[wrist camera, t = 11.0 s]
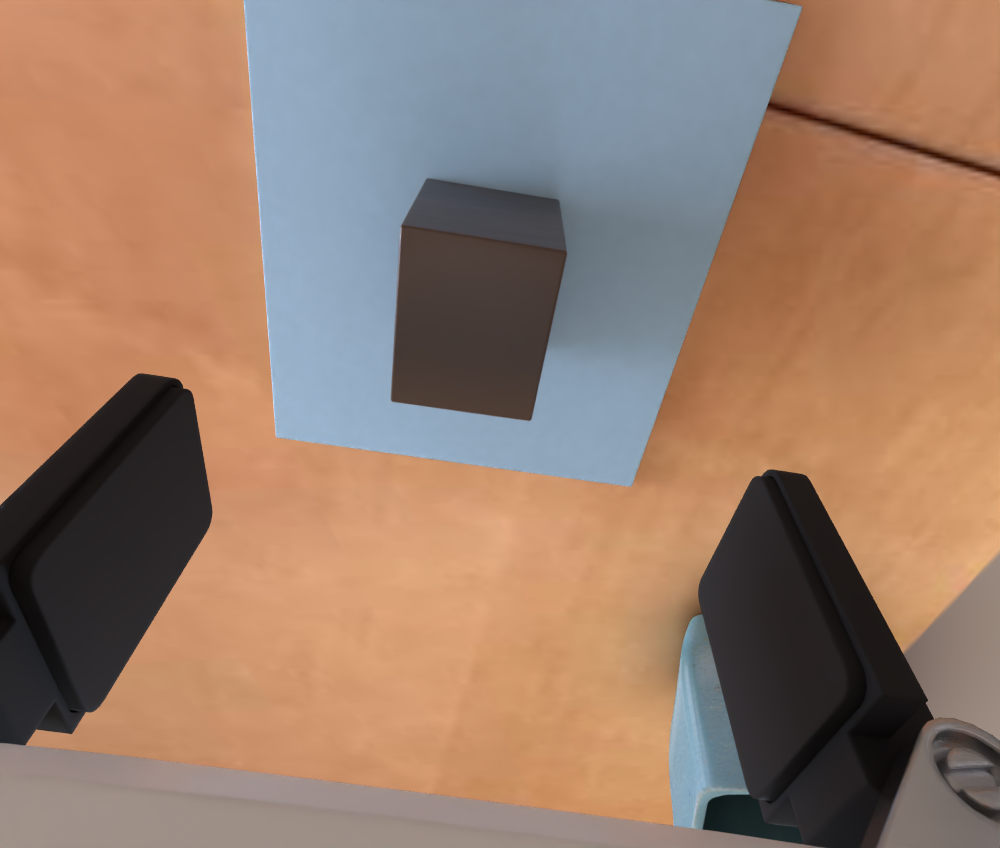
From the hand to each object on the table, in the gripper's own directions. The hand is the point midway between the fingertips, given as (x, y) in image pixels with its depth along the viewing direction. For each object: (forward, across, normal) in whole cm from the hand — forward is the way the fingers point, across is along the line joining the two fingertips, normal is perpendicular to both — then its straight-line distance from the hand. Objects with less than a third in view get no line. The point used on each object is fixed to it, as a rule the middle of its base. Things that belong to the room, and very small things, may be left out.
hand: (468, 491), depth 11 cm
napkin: (+11, +1, 0) cm, 11 cm away
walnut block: (+11, +1, 0) cm, 11 cm away
